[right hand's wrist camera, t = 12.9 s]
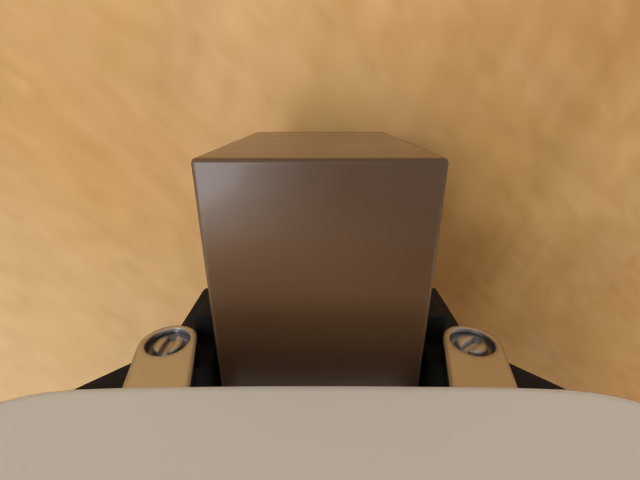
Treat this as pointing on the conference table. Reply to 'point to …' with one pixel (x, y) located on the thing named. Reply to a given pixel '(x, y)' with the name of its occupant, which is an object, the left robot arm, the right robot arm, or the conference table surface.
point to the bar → (319, 256)
